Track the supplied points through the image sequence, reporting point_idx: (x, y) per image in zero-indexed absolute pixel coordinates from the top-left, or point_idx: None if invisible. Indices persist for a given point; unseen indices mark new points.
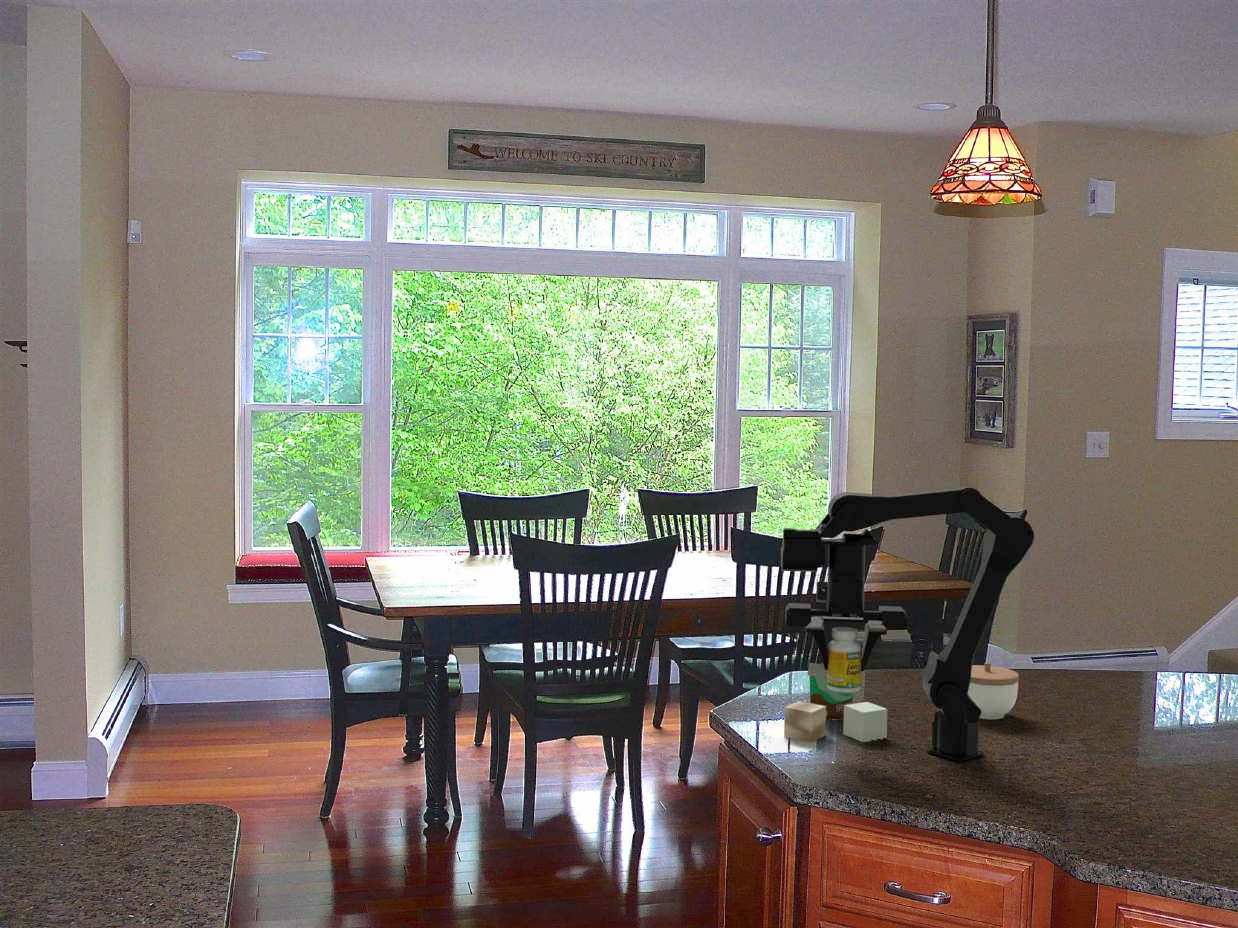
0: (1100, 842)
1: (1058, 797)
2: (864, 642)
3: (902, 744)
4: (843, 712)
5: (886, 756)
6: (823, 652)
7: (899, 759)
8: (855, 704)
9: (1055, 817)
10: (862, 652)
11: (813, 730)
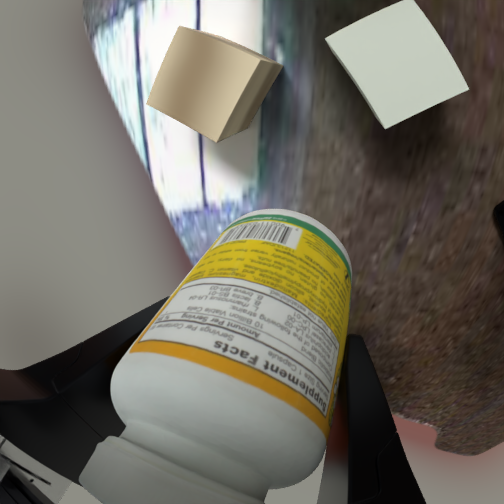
0: (466, 434)
1: None
2: (332, 493)
3: (466, 142)
4: None
5: (405, 228)
6: None
7: (425, 247)
8: (367, 27)
9: (476, 410)
10: (341, 421)
11: (243, 123)
